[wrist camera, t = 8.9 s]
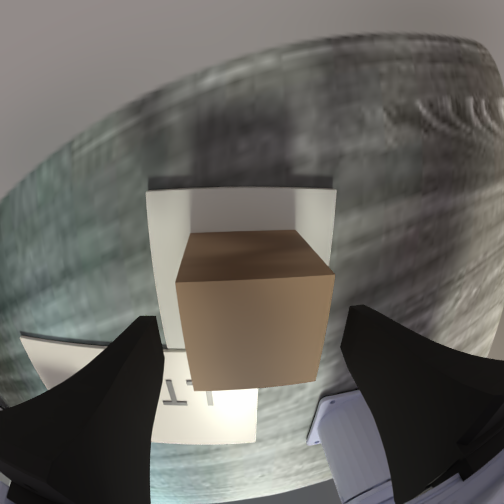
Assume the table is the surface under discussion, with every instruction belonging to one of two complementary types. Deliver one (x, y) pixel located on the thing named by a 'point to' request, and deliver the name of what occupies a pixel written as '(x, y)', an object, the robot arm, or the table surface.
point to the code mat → (162, 395)
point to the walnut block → (252, 309)
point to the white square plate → (228, 228)
